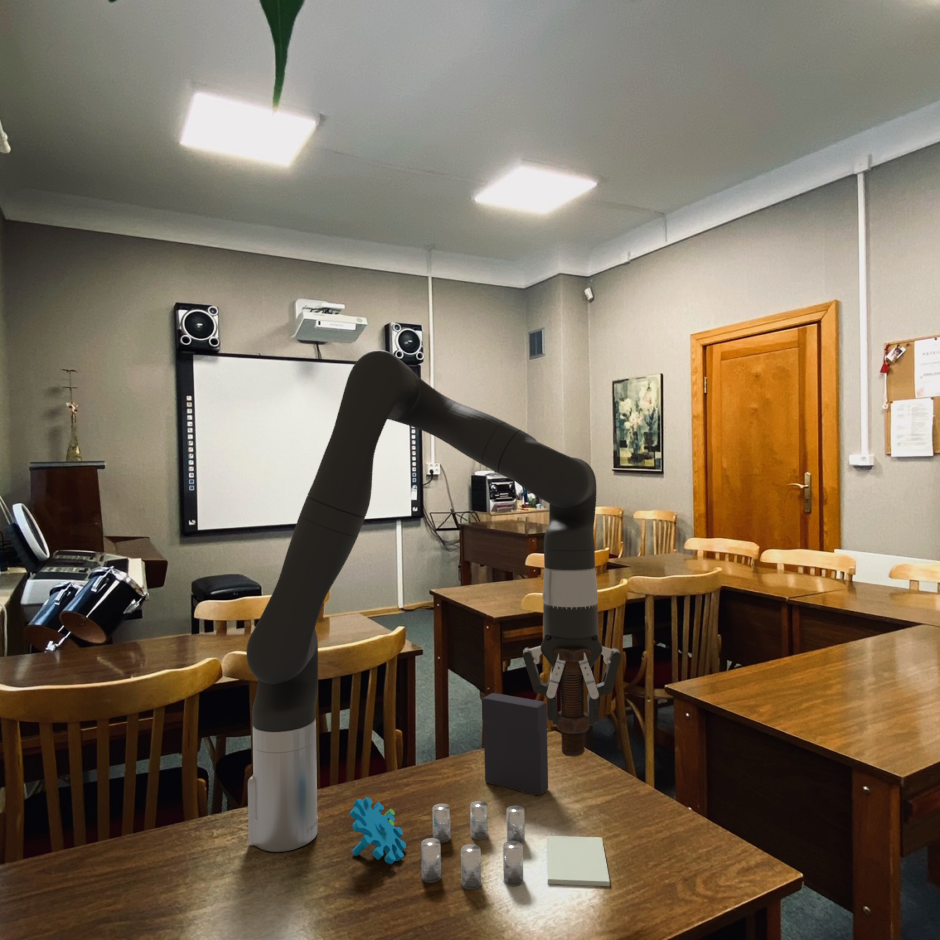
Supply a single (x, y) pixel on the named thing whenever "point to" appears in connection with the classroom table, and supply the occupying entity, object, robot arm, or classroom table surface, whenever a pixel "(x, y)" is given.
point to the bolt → (572, 701)
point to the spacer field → (472, 851)
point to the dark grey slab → (515, 743)
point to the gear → (377, 831)
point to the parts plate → (576, 861)
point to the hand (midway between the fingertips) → (572, 722)
